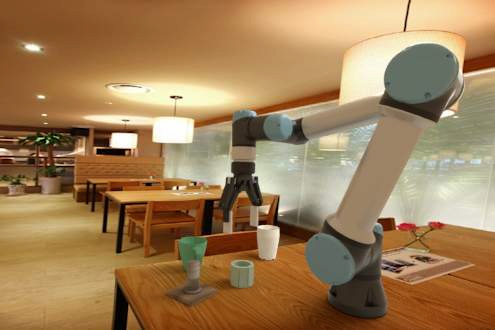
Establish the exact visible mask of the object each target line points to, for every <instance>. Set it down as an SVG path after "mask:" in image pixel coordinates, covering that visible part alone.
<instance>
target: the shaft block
mask: <svg viewBox="0 0 495 330" xmlns="http://www.w3.org/2000/svg"><path fill="white" fill-rule="evenodd" d="M200 271H201V266H200V261H198V260H190V261H188V262H187V271H186V282H185V283H183V284H180V285H179V286H176V287H173V288H172V289H171V288H170V289H169V290H167V291H166V295H167V296H169V297H171V298H172V299H175V300H176V301H180V302H181V303H184V304H186V305H188V306H190V307H193V306H195V305H197V304H200V303H201V302H203V301H205V300H207V299H209V298H211V297H213V296H215V295H216V294H218V293H219V290H218V289H217V288H216V287H215V288H214V287H212V286H210V285H207V284H204V283H202V282H200V274H201V272H200Z"/></svg>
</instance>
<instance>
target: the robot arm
mask: <svg viewBox="0 0 495 330" xmlns="http://www.w3.org/2000/svg"><path fill="white" fill-rule="evenodd" d="M461 69H462V68H461V67H460V62H459V60H458V57H457V55H456V54H455V53H454V52H452V51H451V50H450V49H449V48H448V47H446V46H445V45H443V44H440V43H437V42H433V41H432V42H431V41H425V42H424V41H423V42H417V43H413V44H411V45H409V46H407V47H405V48H402V49H401V50H400V51H398V52H397V53H396V54H395V55H394V56H393V57H392V58H391V59H390V61H389V62H388V63H387V65H386V67H385V71H384V74H383V86H384V91H380V92H378V93H374V94H371V95H367V96H365V97H362V98H359V99H356V100H353V101H350V102H349V101H348V102H346V103H343V104H340V105H337V106H334V107H330V108H327V109H324V110H320V111H317V112H315V113H312V114H308V115H305V116H303V117H299V118H296V119H292V118H290V117H289V115H288V114H286V113H271V114H265V115H257V112H256V111H254V110H249V109H244V110H243V109H240V110H236V111H234V112H233V114H232V121H231V160H232V161H231V163H230V173H231V174H233V176H226V177H225V183H224V188H223V190H222V193H221V196H220V199H219V202H218V204H217V209H218V210H220V211H222V222H223V225H222V227H223V230H222V234H223V233H224V234H227V235H228V234H229V235H233V215H234V214H233V211H232V208H233V206H234V205H235V202H236V200H237V198H238V197H239V194H241V193H242V192H245V193H246V195H247V197H248V199H249V200H250V201H249V202H250V203H251V205H250V209H249V210H250V211H249V226H251V227H256V228H258V226H259V213H260V212H259V211H260V209H259V208H260V207H262V206H263V203H264V200H263V195H262V191H261V189H260V183H259V176H257V175H256V176H255V174H256V162H254V161H256V159H257V150H256V149H257V147H256V146H257V142H274V143H283V144H289V145H294V146H302V145H305V144H307V143H308V142H309V141H312V140H317V139H320V138H323V137H328V136H331V135H336V134H340V133H344V132H347V131H348V132H349V131H353V130H356V129H360V128H363V127H367V126H371V125H376V126H375V129H374V131H373V132H372V135H371V137H370V139H369V142H367V145H366V148H365V150H364V152H363V154H362V157H361V158H360V160H359V162H358V165H357V167H356V169H355V171H354V174H353V175H352V178H351V180H350V181H349V184H348V186H347V188H346V190H345V192H344V195H343V197H342V199H341V201H340V203H339V206H338V207H337V210H336V212H333V213H330V214H328V215H327V216H326V217H325V219H324V221H323V223H322V226H321V228H320V231H319V232H318V233H315V234H314V235H312V236H311V237H310V238H309V239H308V241H307V242H306V244H305V248H304V258H305V261H306V263H307V267H308V268H309V270H310V271H311V273H312V274H313V276H314V277H316V279H318V280H319V281H321V282H323V284H327V285H329V287H328V291H327V293H328V294H327V300H328V302H329V304H330V305H331V306H332V307H333V308H335V310H338V311H339V312H342V313H345V314H348V315H350V316H354V317H360V318H367V319H368V318H370V319H371V318H373V319H374V318H379V317H383V316H384V315H386V314H387V311H388V299H387V295H386V293H385V288H384V285H383V281H382V263H383V247H384V245H383V242H384V228H383V226H382V225H383V224H381V223H379V222H378V220H379V218H380V216H381V214H382V212H383V210H384V208H385V206H386V205H387V202H388V201H389V199H390V197H391V195H392V193H393V191H394V189H395V187H396V185H397V183H398V181H399V179H400V177H401V175H402V174H403V172H404V170H405V169H406V165H407V163H408V162H409V160H410V158H411V156H412V155H413V152H414V150H415V148H416V146H417V145H418V143H419V141H420V139H421V136H422V135H423V133H424V131H426V130H427V129H431V128H432V127H436V126H437V124H438V123H439V120H440V119H441V117H442V115H443V113H444V112H446V111H448V110H450V109H451V108H452V107H453V106H455V105H456V103H458V102H459V101H460V98H461V97H462V96H463V93H464V90H465V87H466V81H465V75H464V73H463V71H462V70H461Z"/></svg>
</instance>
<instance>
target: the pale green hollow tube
mask: <svg viewBox="0 0 495 330" xmlns="http://www.w3.org/2000/svg"><path fill="white" fill-rule="evenodd" d="M229 275H230V276H229V283H230V286H232V287H233V288H234V287H235V288H236V289H247V288H250V287H252V286H254V284H255V283H254V281H255V279H254V278H255V277H254V276H255V264H254V262H253V261H251V260H247V259H234V260H233V261H231V262H230V273H229Z"/></svg>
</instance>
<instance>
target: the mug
mask: <svg viewBox="0 0 495 330" xmlns="http://www.w3.org/2000/svg"><path fill="white" fill-rule="evenodd" d="M207 243H208V239H207V238H206V237H201V236H185V237H181V238H180V239H178V240H177V244H178V252H179V255H180V259H181V263H182V265H183V269H184V270H185V271H186V270H187V262H188V261H190V260H198V261H200V267H201V266H202V263H203V259H204V256H205V253H206V248H207V245H208V244H207Z"/></svg>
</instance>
